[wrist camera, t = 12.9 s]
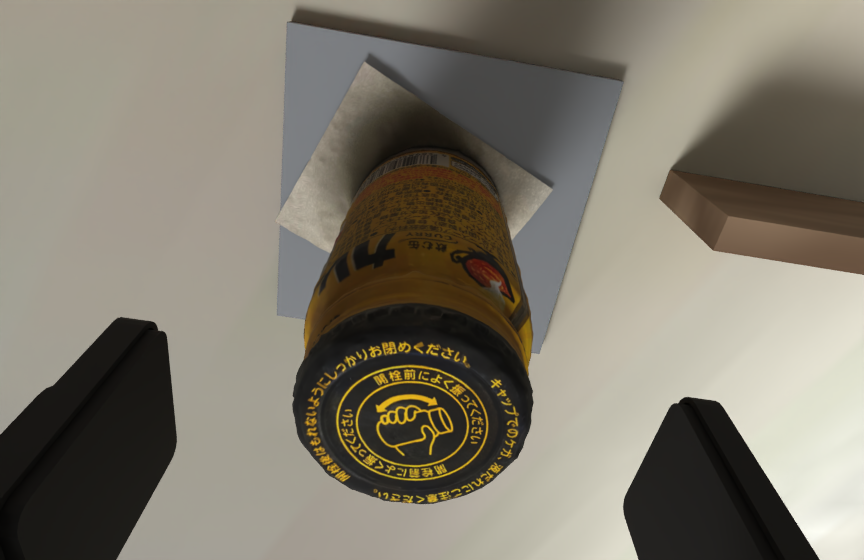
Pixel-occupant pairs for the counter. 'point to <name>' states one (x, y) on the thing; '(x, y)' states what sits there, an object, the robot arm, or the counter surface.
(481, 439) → the condiment
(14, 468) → the robot arm
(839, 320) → the counter surface
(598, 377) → the counter surface
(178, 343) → the counter surface
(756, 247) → the brown angular block
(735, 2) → the counter surface
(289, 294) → the mat
